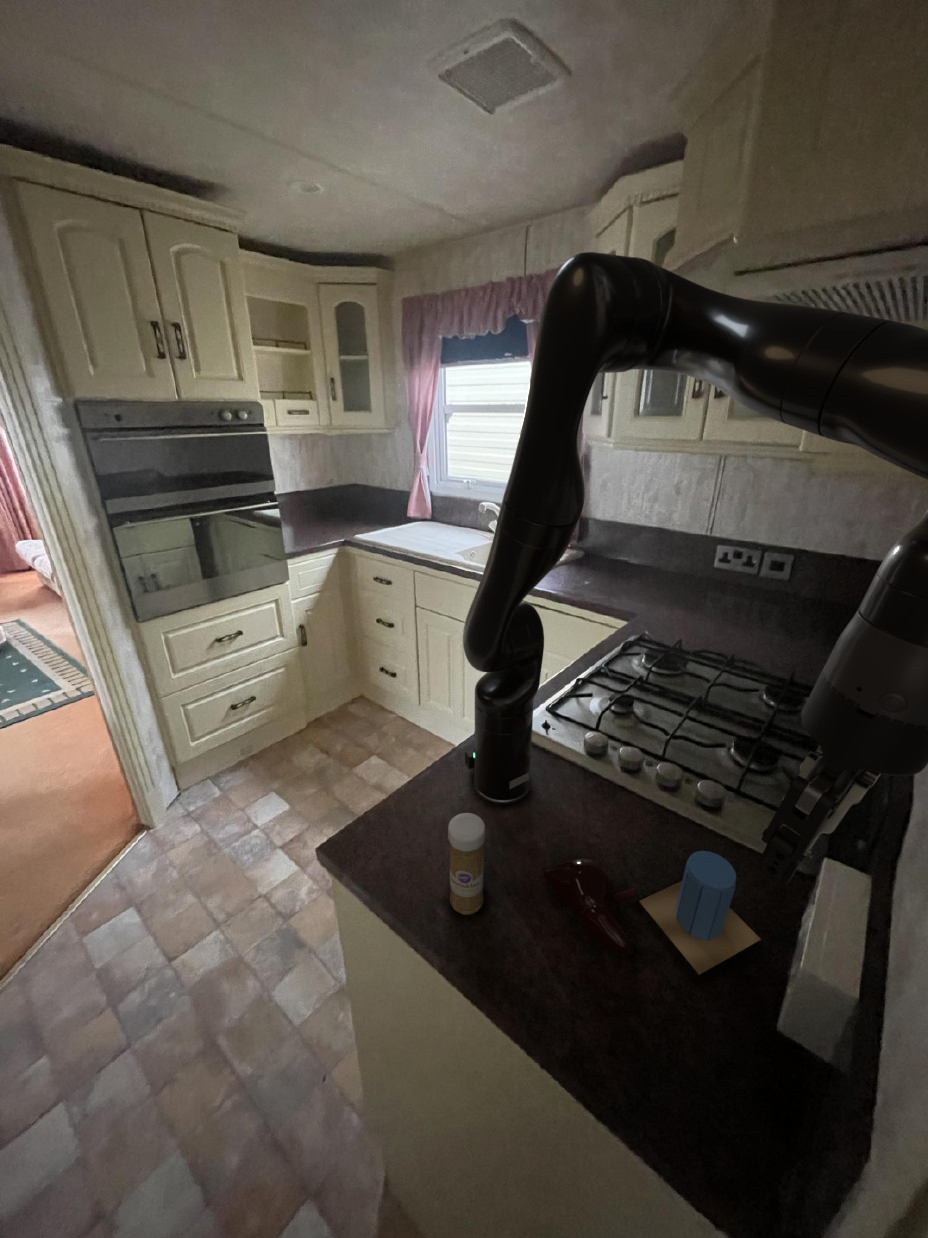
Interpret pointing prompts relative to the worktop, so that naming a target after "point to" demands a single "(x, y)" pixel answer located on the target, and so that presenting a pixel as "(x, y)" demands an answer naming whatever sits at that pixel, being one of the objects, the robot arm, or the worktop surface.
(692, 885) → the blue sleeve
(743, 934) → the dowel stand
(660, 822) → the worktop surface
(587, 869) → the dark red glossy lump
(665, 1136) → the worktop surface
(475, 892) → the sprinkles bottle
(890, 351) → the robot arm
